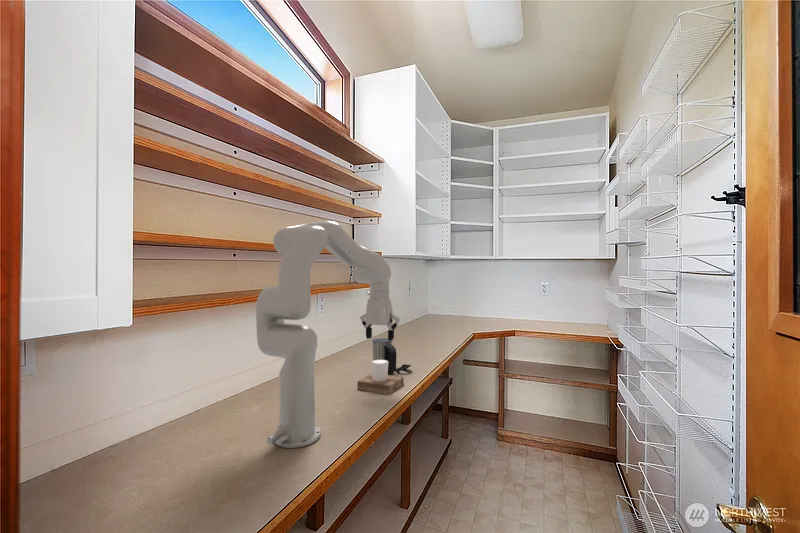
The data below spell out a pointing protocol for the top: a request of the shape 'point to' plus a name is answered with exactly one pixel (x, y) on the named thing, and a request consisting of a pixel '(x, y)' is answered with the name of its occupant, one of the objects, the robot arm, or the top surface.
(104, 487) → the top surface
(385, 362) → the white cup
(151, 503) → the top surface
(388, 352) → the milk frother
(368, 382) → the walnut riser
